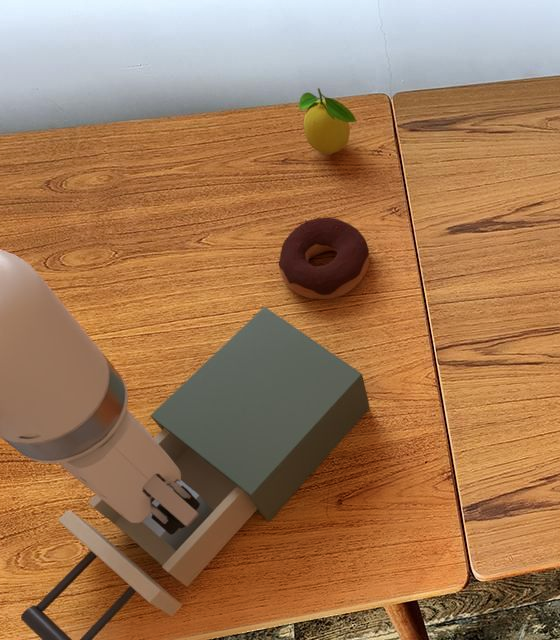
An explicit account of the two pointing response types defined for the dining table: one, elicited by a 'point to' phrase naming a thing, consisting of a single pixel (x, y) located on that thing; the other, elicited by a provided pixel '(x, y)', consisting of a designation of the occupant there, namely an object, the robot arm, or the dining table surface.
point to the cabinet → (266, 409)
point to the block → (181, 533)
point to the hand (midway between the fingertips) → (153, 492)
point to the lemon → (325, 123)
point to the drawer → (153, 542)
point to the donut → (332, 276)
